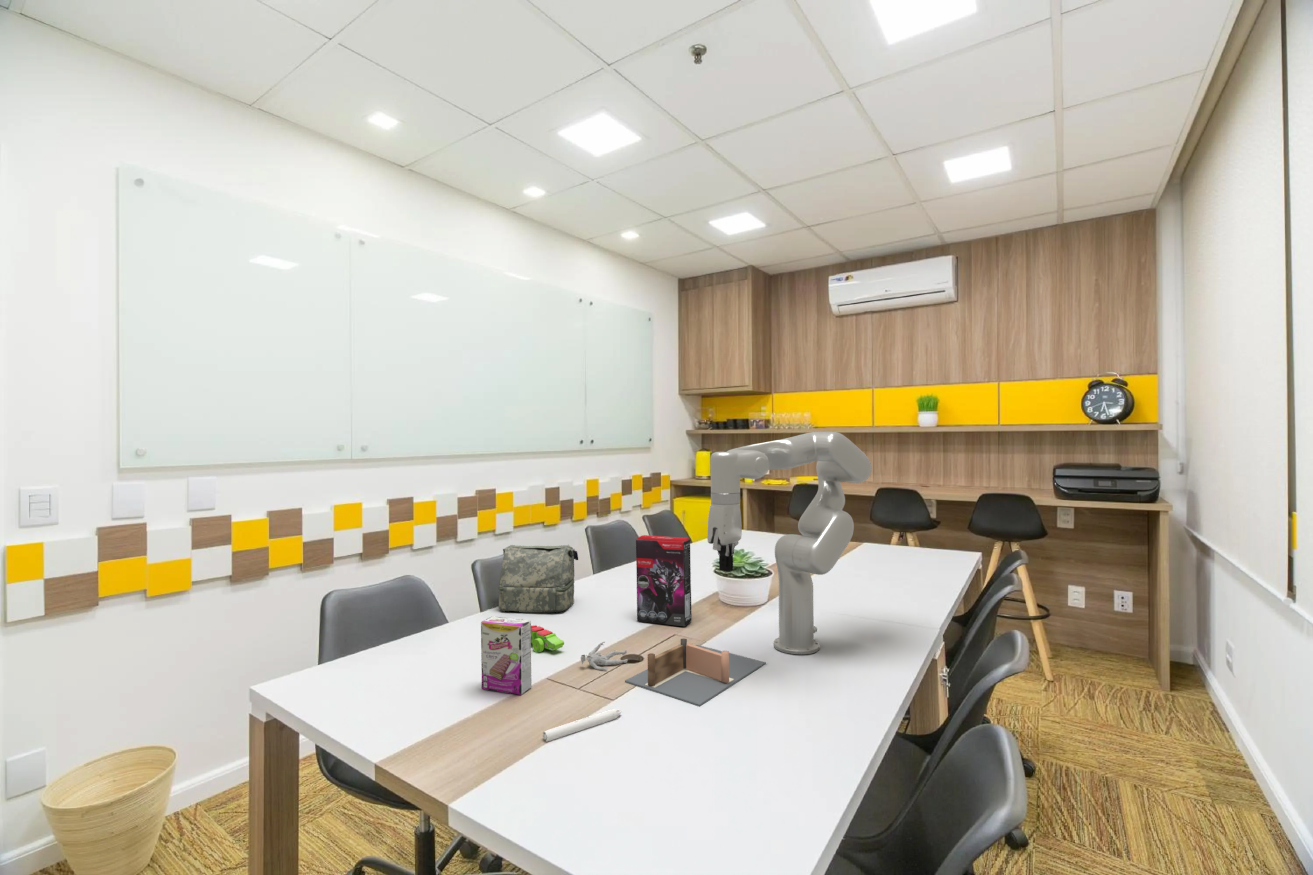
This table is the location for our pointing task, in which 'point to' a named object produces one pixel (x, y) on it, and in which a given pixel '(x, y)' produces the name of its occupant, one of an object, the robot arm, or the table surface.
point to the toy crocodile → (544, 639)
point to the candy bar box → (506, 655)
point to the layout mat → (698, 680)
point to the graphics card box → (663, 580)
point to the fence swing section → (708, 662)
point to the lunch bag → (537, 578)
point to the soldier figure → (602, 658)
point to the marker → (580, 724)
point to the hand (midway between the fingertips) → (726, 570)
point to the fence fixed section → (666, 663)
